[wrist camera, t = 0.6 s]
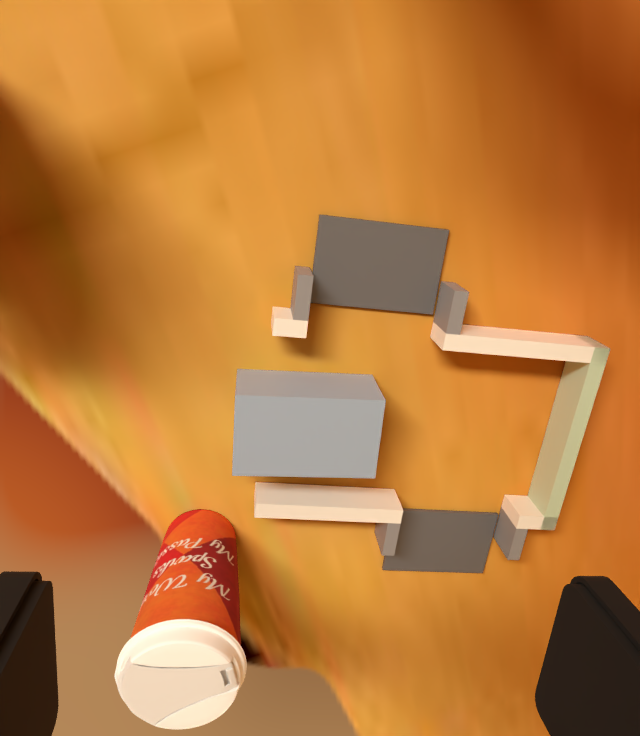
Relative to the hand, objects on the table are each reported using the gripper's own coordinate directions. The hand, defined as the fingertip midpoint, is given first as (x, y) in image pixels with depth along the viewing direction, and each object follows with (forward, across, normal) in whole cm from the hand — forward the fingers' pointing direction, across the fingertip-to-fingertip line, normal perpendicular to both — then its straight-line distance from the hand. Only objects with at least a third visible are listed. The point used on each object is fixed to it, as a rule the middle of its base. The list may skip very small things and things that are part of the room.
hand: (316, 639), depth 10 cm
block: (+32, -3, +8) cm, 33 cm away
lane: (+32, -12, +8) cm, 35 cm away
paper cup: (+33, +4, +20) cm, 39 cm away
